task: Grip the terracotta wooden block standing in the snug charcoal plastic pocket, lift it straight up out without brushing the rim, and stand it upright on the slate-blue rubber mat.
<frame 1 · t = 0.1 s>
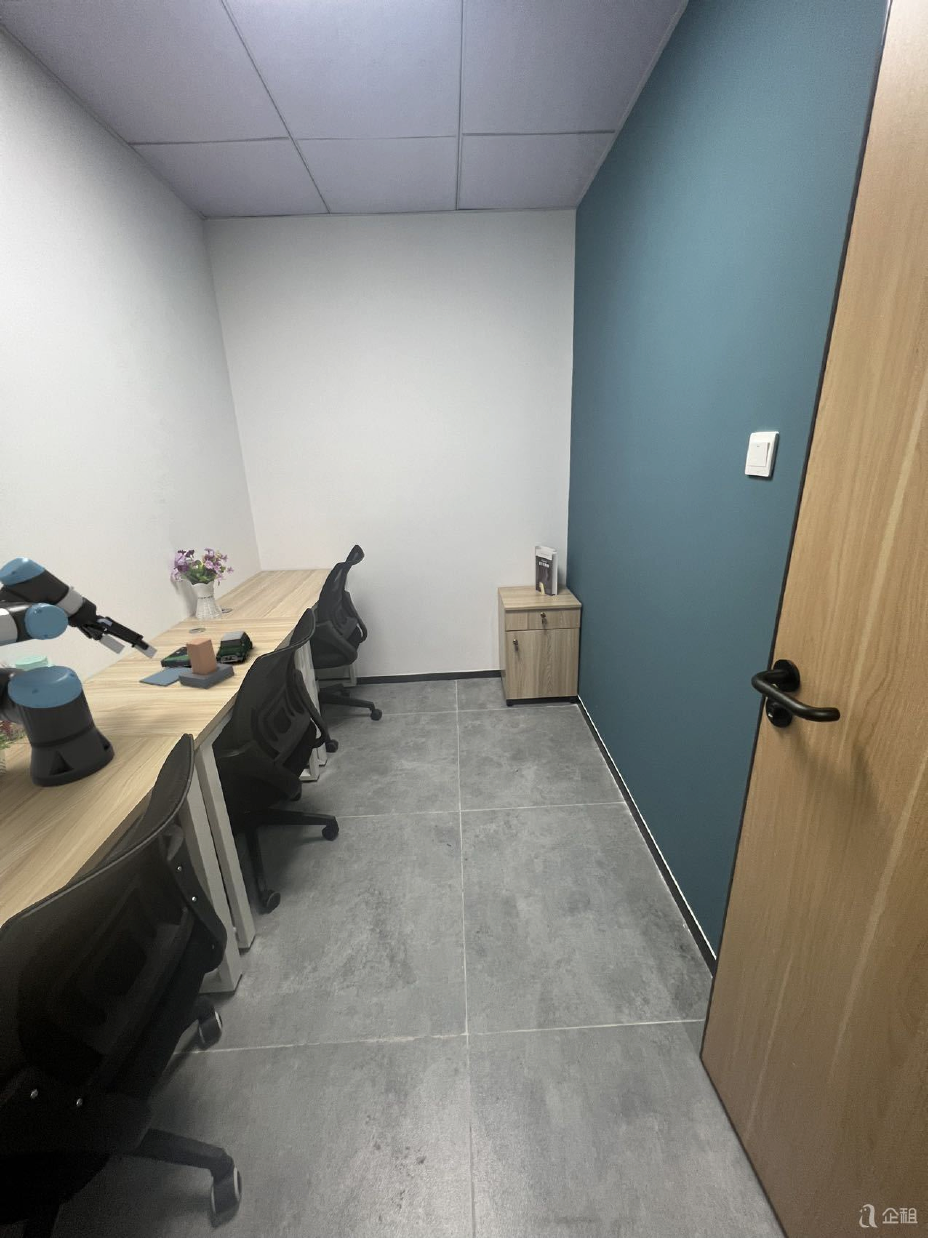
hand: (137, 652, 138), 15 cm above the table, tool tilted 35°, fingers open, 13 cm apart
disk drive: (187, 660, 171), on the table, touching rubber mat
rubber mat: (169, 676, 159), on the table
pocket holder: (207, 678, 155), on the table
miniature car: (236, 657, 173), on the table
terracotta block: (203, 660, 153), in the pocket holder
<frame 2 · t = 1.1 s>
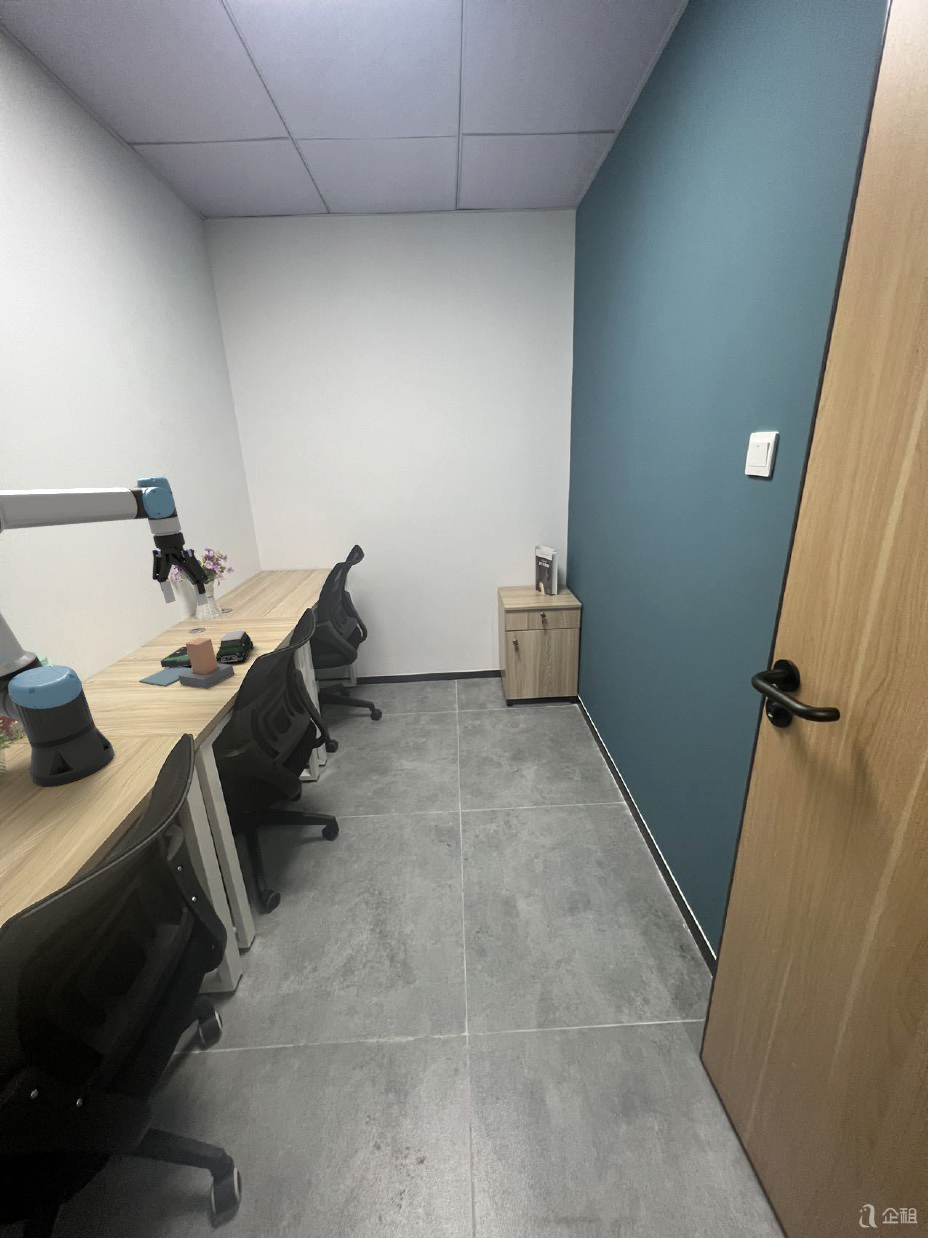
hand: (186, 603, 146), 25 cm above the table, tool pointing down, fingers open, 13 cm apart
nothing on the table moved.
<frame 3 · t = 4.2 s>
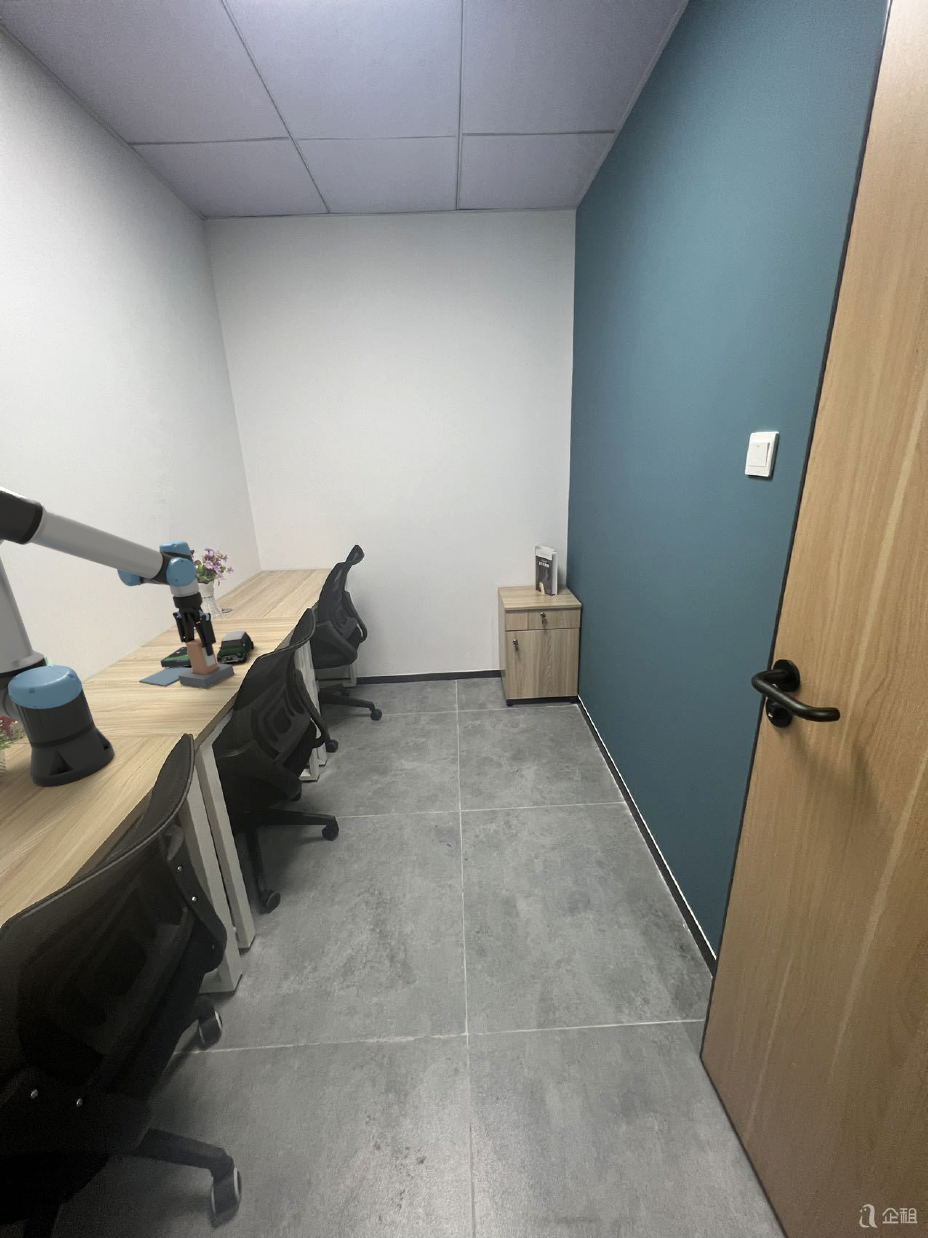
hand: (204, 663, 153), 5 cm above the table, tool pointing down, fingers closed on terracotta block, 5 cm apart
terracotta block: (203, 660, 153), in the pocket holder, touching gripper
everything else where it was.
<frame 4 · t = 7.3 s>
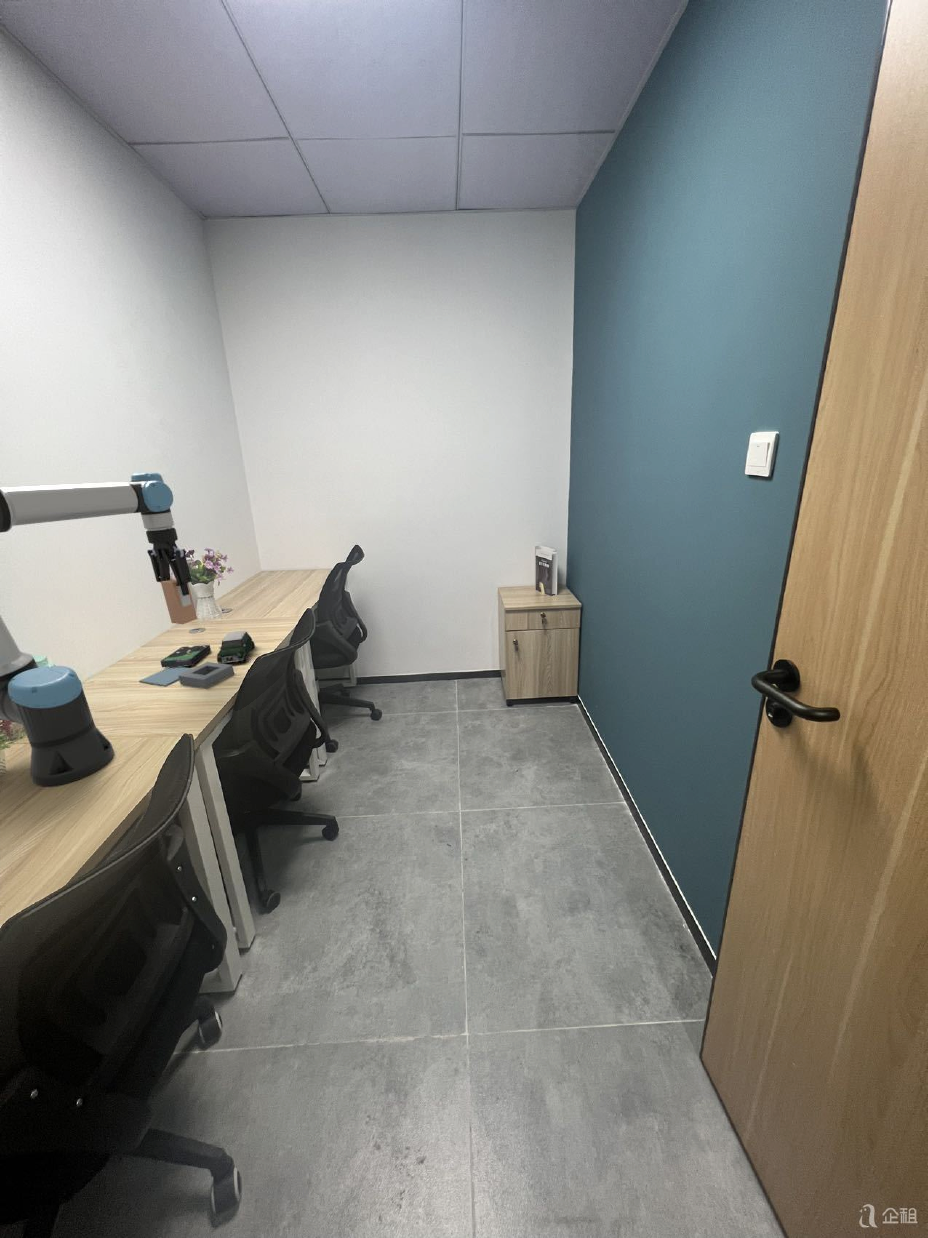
hand: (180, 604, 148), 25 cm above the table, tool pointing down, fingers closed on terracotta block, 5 cm apart
terracotta block: (179, 600, 148), point 26 cm above the table, touching gripper
everything else where it was.
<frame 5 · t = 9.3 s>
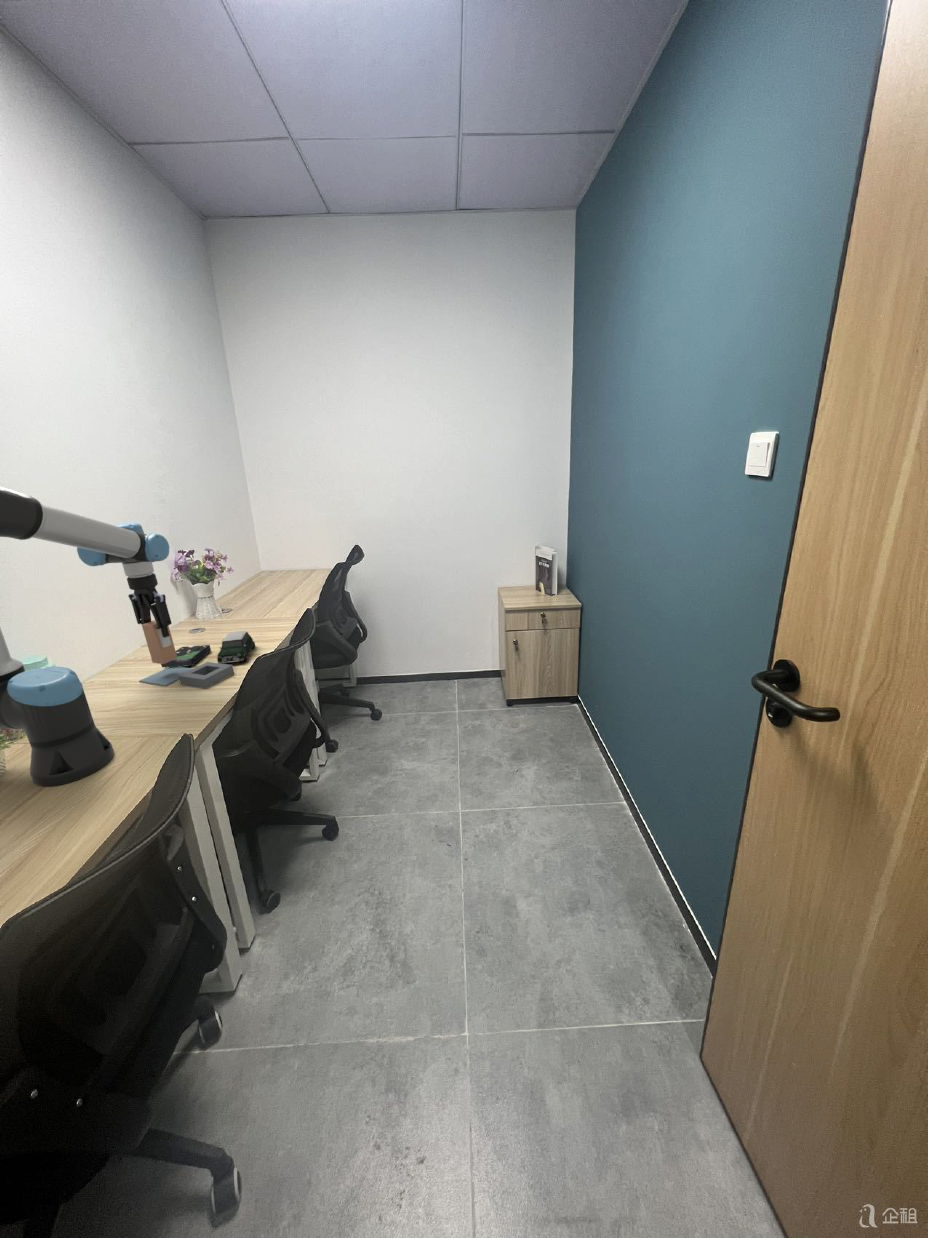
hand: (160, 645, 155), 11 cm above the table, tool pointing down, fingers closed on terracotta block, 5 cm apart
terracotta block: (159, 641, 155), point 12 cm above the table, touching gripper
when the fingers open (7 cm above the table, at t = 10.9 s): terracotta block stays where it is, resting on rubber mat.
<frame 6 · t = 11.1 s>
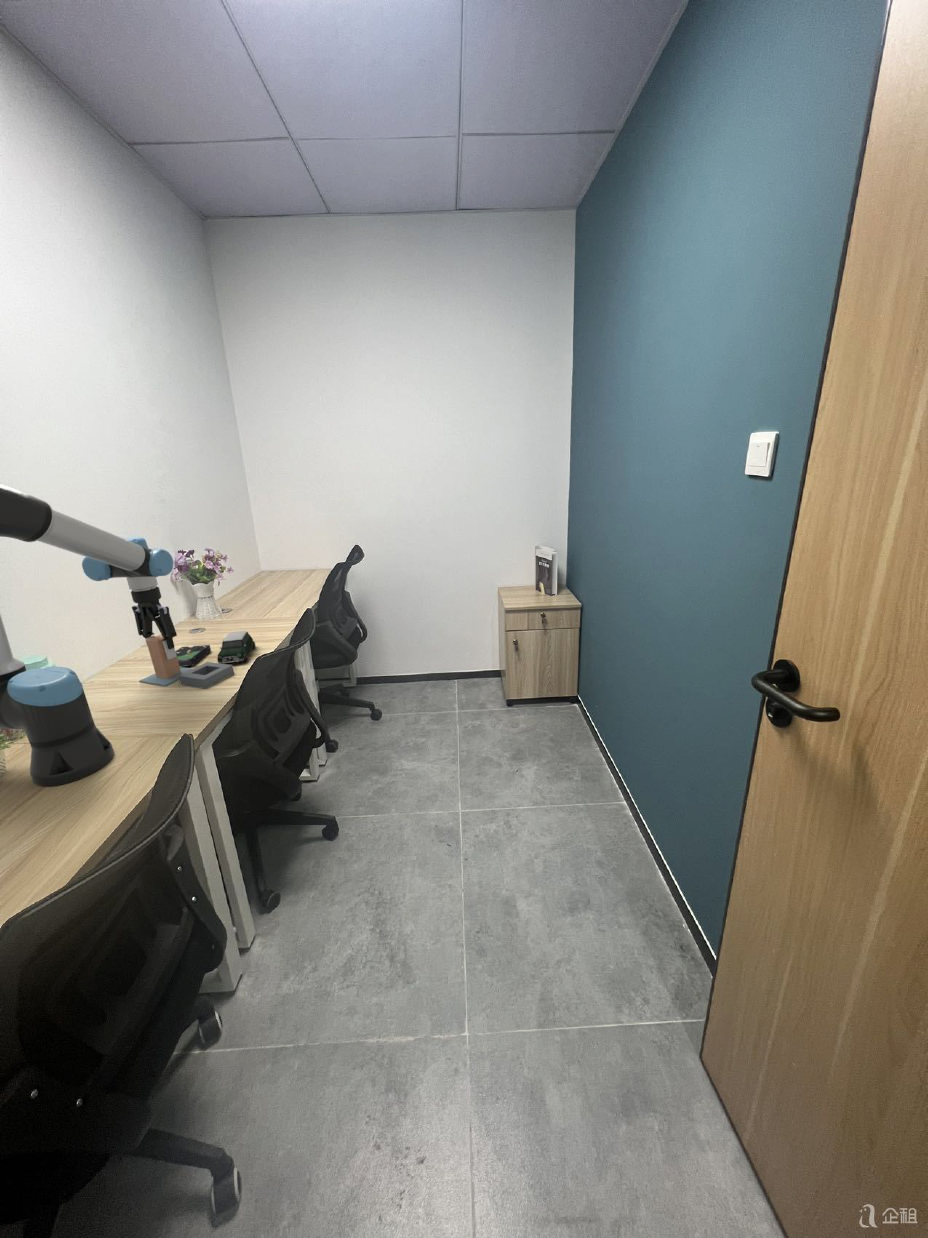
hand: (163, 656, 157), 7 cm above the table, tool pointing down, fingers open, 7 cm apart
terracotta block: (163, 656, 157), on the rubber mat
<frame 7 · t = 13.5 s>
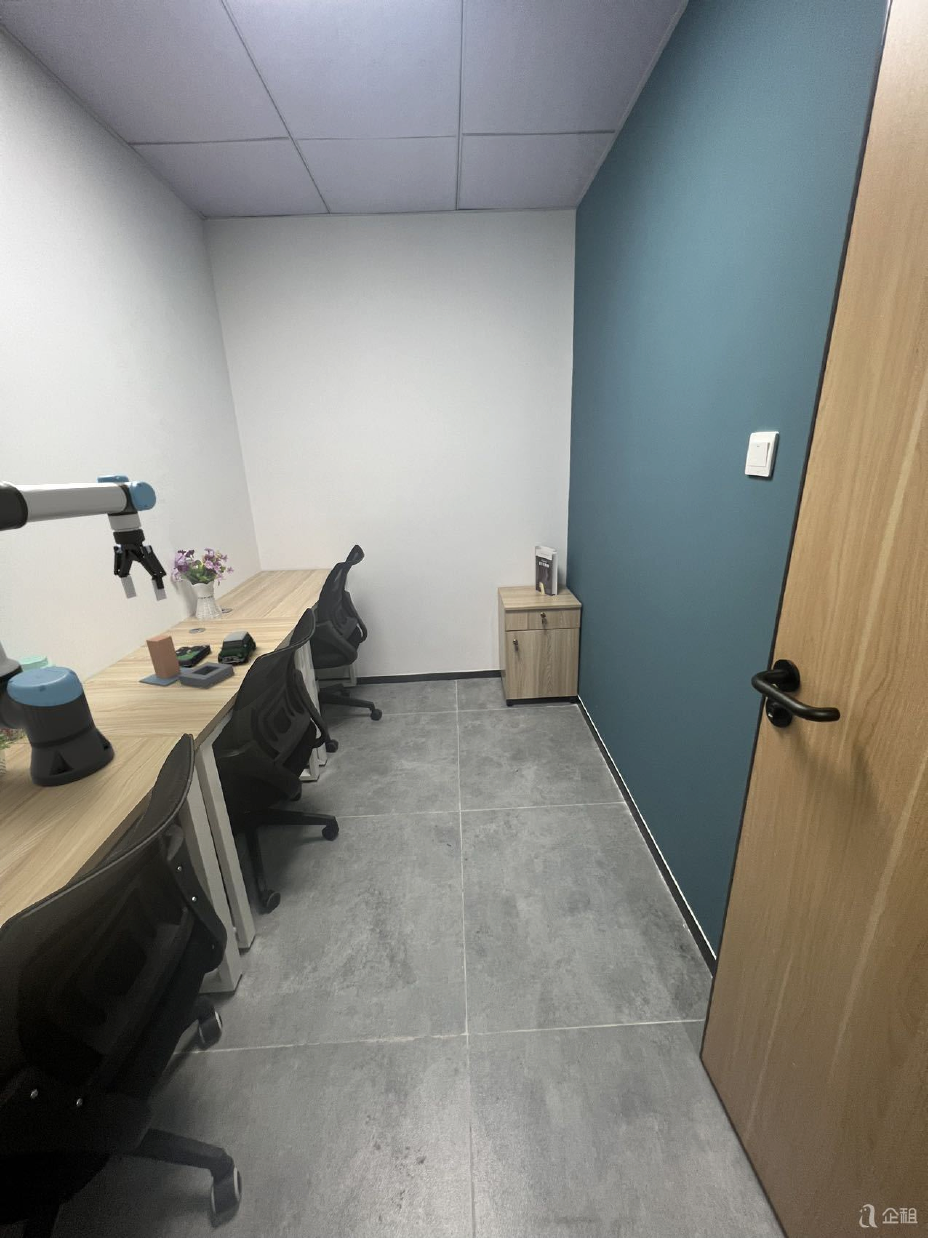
hand: (146, 598, 150), 27 cm above the table, tool pointing down, fingers open, 13 cm apart
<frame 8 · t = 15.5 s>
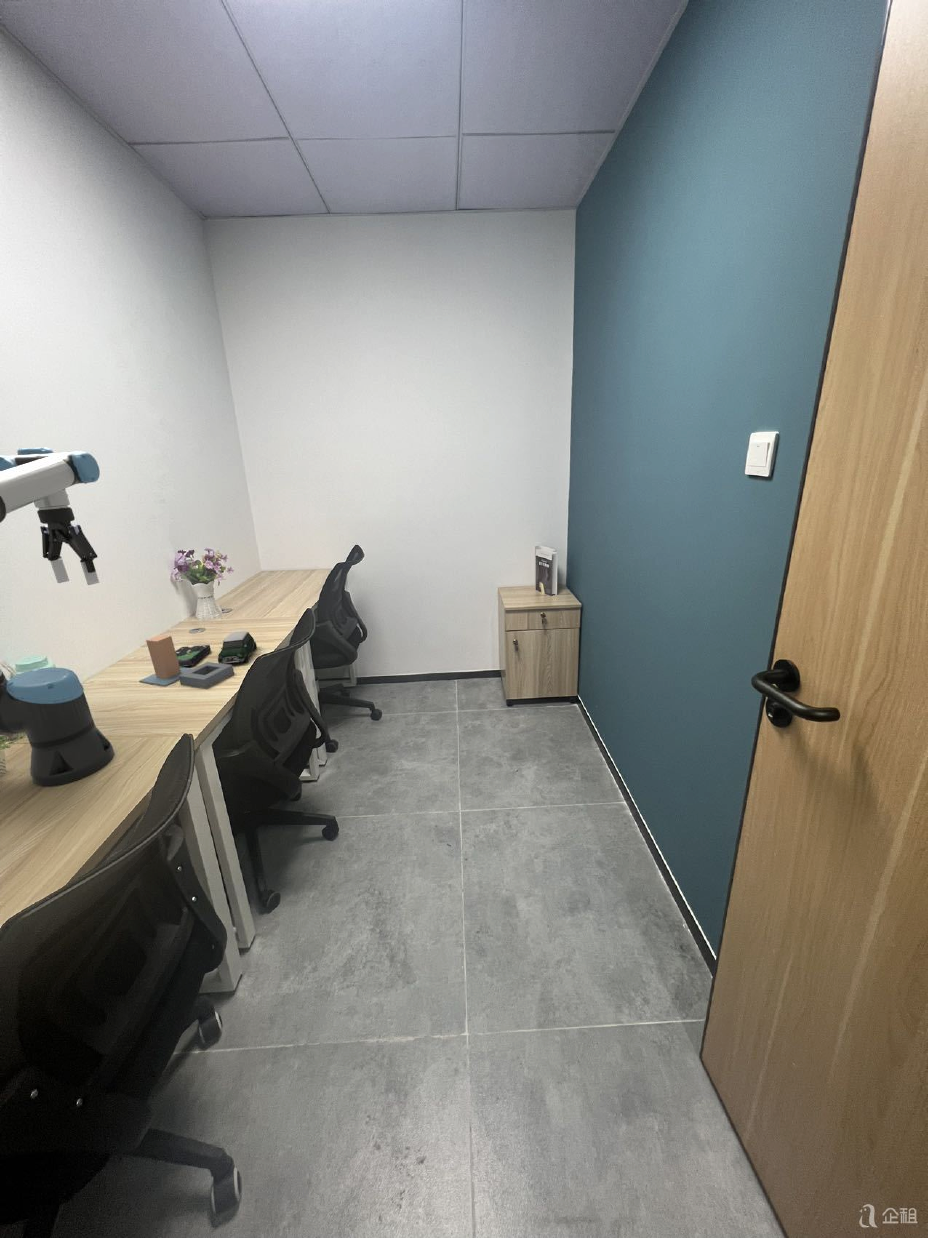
hand: (78, 583, 139), 35 cm above the table, tool pointing down, fingers open, 13 cm apart
at the end: terracotta block inside the target area on the rubber mat (0.0 cm from its centre), point 7.0 cm above the rubber mat's base; terracotta block tilted 0°; the gripper is holding nothing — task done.
